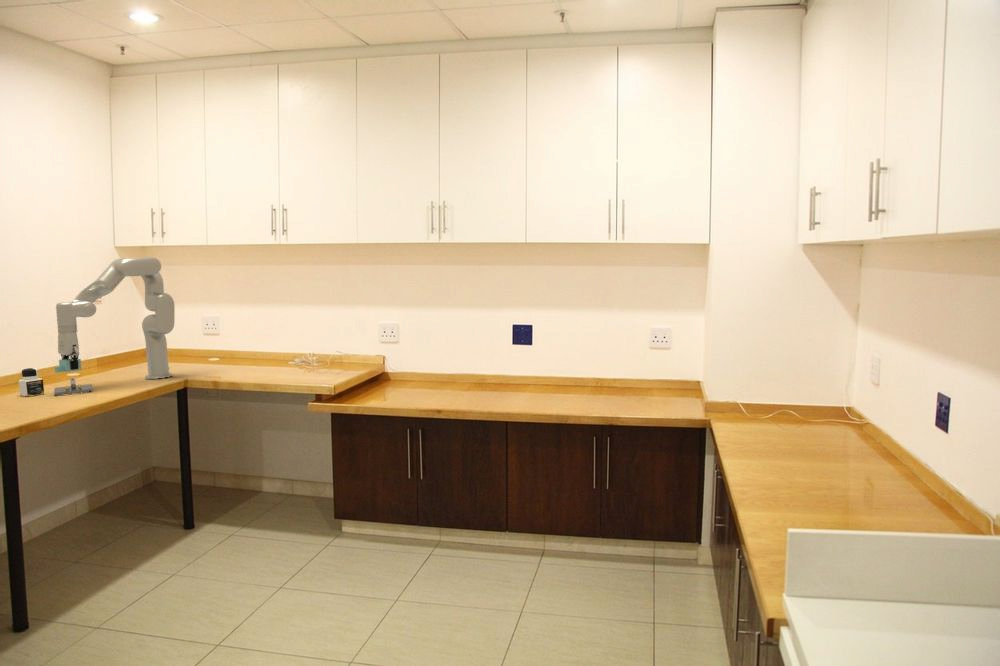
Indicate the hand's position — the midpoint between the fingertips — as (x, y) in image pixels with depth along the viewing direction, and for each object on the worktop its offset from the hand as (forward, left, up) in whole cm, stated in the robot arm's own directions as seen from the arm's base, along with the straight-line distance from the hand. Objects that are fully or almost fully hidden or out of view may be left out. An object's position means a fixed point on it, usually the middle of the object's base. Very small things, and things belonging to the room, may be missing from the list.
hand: (70, 368), depth 331 cm
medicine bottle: (+4, -16, -11) cm, 19 cm away
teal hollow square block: (+1, -1, -1) cm, 2 cm away
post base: (0, 0, -11) cm, 11 cm away
